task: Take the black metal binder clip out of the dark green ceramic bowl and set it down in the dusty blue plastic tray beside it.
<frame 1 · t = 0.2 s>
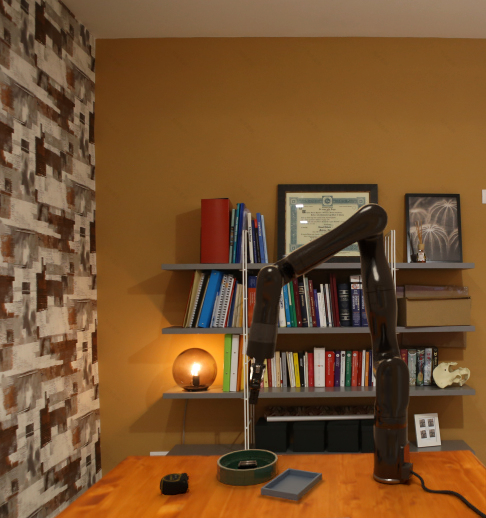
hand: (253, 400, 131), 22 cm above the table, tool pointing down, fingers open, 8 cm apart
tray: (292, 488, 127), on the table
tape measure: (177, 492, 125), on the table
clip: (247, 473, 135), point 1 cm above the table, touching bowl
bowl: (247, 475, 135), on the table
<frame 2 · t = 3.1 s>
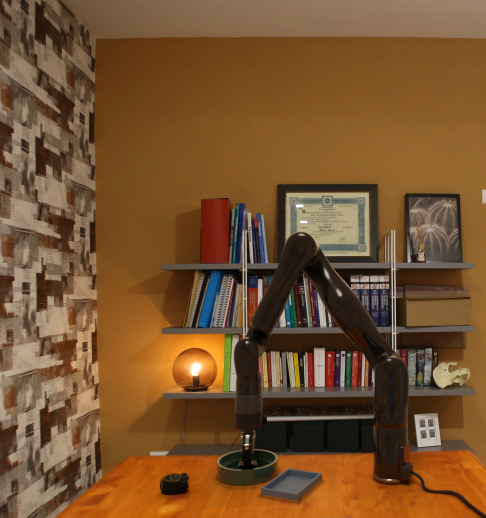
hand: (247, 472, 135), 1 cm above the table, tool pointing down, fingers closed on clip, 2 cm apart
clip: (247, 473, 135), point 1 cm above the table, touching bowl, gripper
everything else where it was.
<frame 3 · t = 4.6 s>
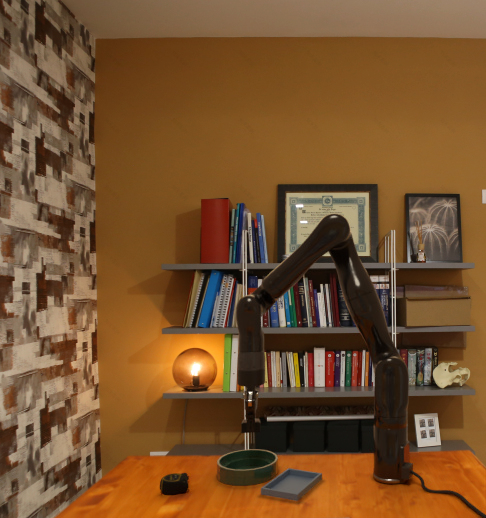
hand: (251, 430, 135), 12 cm above the table, tool pointing down, fingers closed on clip, 2 cm apart
clip: (251, 431, 135), point 12 cm above the table, touching gripper
everything else where it was.
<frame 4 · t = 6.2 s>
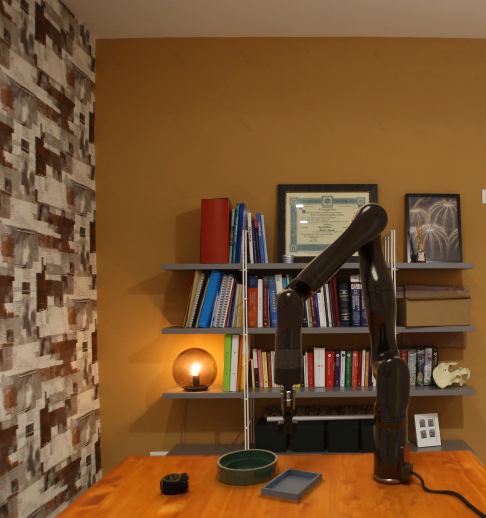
hand: (287, 431, 128), 14 cm above the table, tool pointing down, fingers closed on clip, 2 cm apart
clip: (287, 432, 128), point 14 cm above the table, touching gripper
everything else where it was.
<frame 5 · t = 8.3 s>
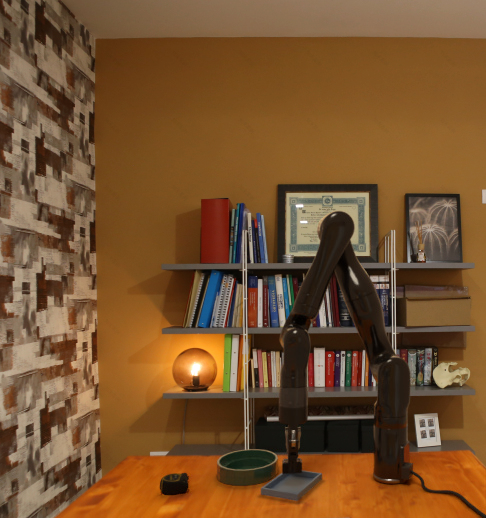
hand: (292, 470, 127), 5 cm above the table, tool pointing down, fingers closed on clip, 2 cm apart
clip: (291, 471, 127), point 4 cm above the table, touching gripper
everything else where it was.
when the fingers open (1 cm above the table, at t = 9.5 s): clip stays where it is, resting on tray.
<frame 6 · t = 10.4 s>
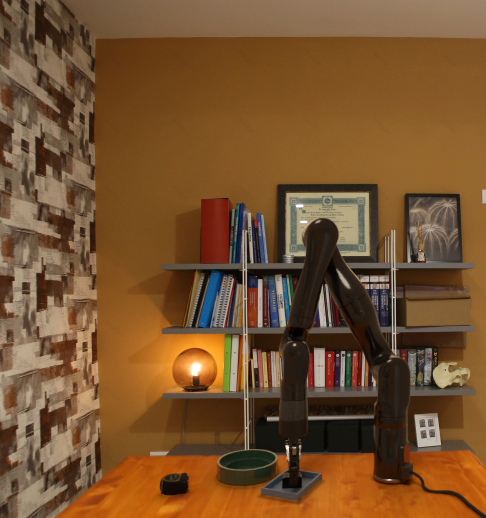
hand: (293, 479, 127), 2 cm above the table, tool pointing down, fingers open, 8 cm apart
clip: (291, 486, 127), point 1 cm above the table, touching tray
everything else where it was.
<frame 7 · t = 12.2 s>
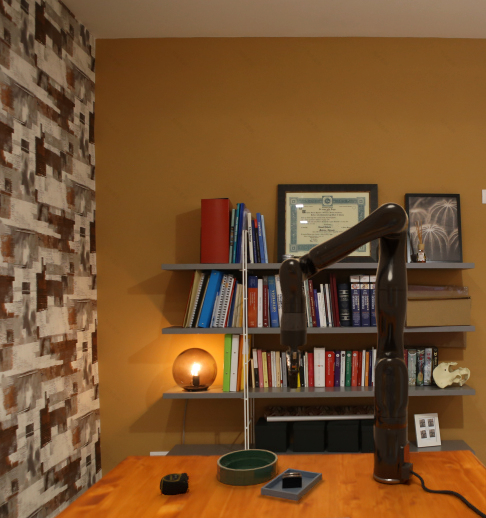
hand: (292, 385, 140), 24 cm above the table, tool pointing down, fingers open, 8 cm apart
nothing on the table moved.
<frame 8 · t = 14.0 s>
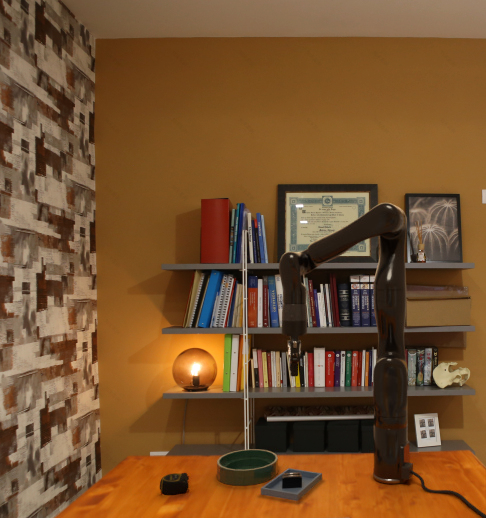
hand: (293, 373, 146), 26 cm above the table, tool pointing down, fingers open, 8 cm apart
nothing on the table moved.
at the end: clip inside the target area in the tray (0.1 cm from its centre), point 0.6 cm above the tray's base; the gripper is holding nothing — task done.
